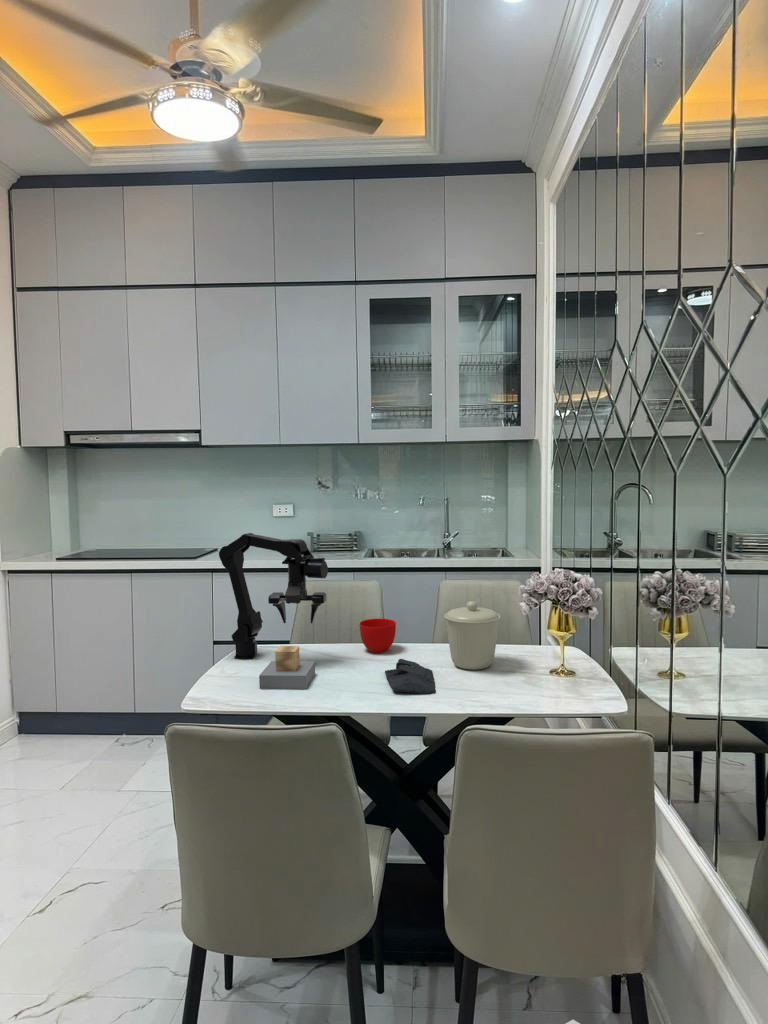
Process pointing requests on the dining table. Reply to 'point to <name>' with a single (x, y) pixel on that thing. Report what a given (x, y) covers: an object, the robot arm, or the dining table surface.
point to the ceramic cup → (377, 634)
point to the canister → (472, 636)
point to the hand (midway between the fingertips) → (298, 623)
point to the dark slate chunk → (411, 678)
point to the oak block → (287, 658)
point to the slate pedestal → (287, 676)
